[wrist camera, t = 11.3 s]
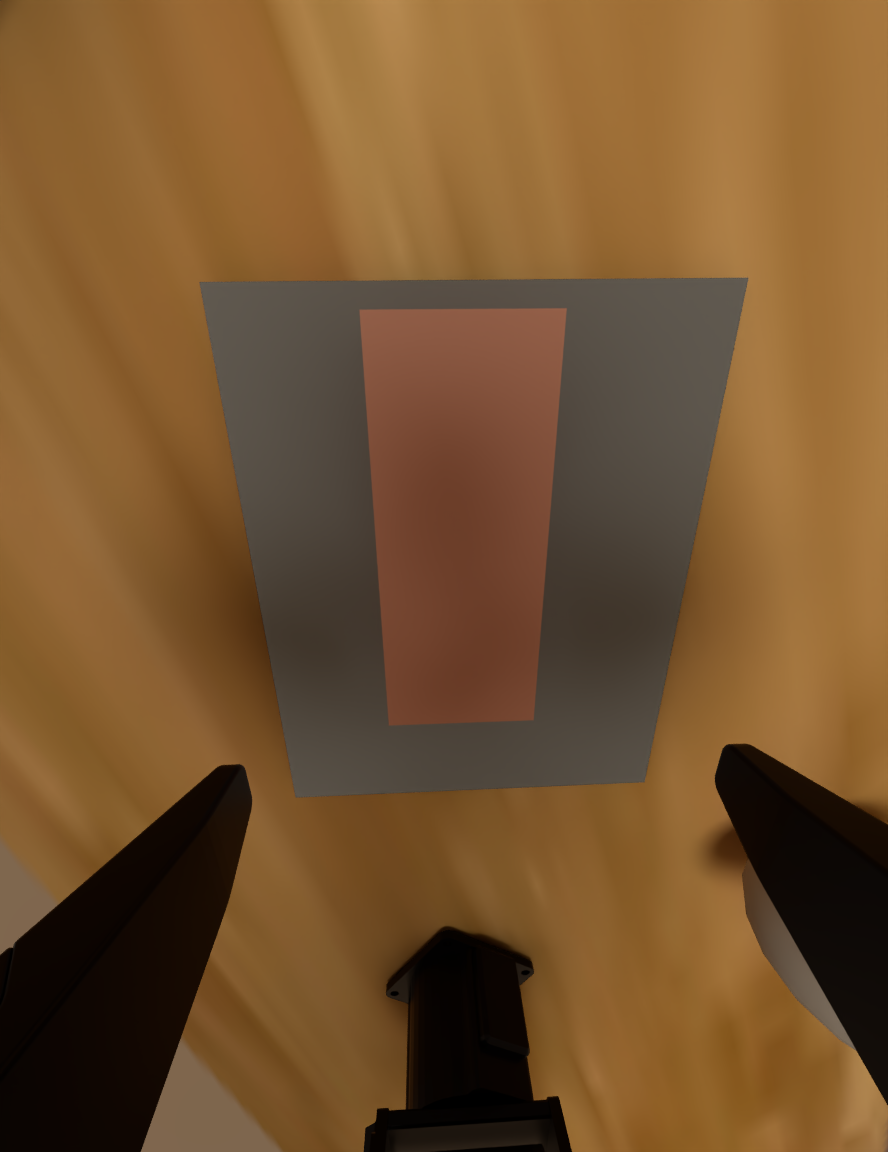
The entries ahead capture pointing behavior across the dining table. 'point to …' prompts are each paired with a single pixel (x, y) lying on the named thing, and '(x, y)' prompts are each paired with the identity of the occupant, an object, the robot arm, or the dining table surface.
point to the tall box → (462, 503)
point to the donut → (786, 954)
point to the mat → (576, 529)
